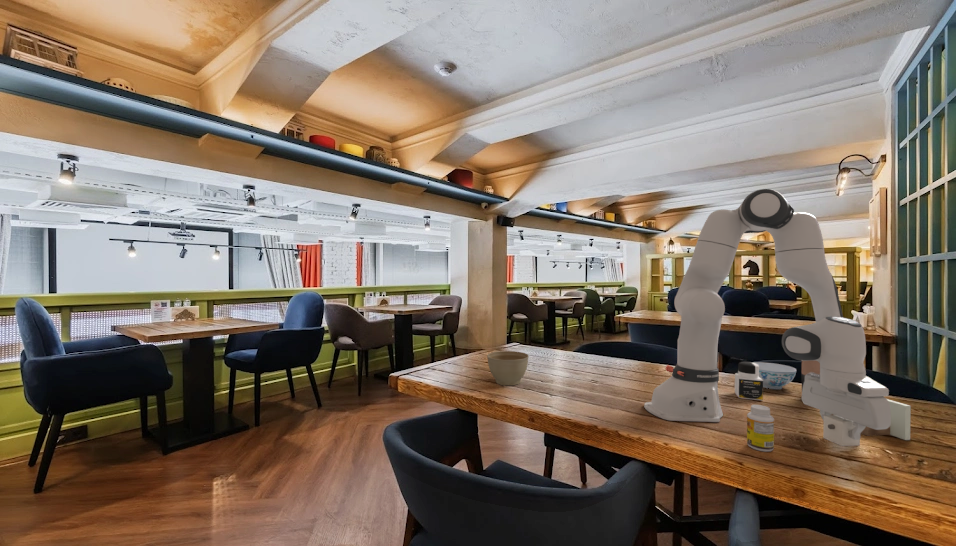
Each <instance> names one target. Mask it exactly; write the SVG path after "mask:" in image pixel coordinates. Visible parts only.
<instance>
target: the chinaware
mask: <svg viewBox="0 0 956 546" xmlns="http://www.w3.org/2000/svg"><path fill="white" fill-rule="evenodd" d="M753 363H756V364H758V365H759V377H760V378H761V379H762V380H763V389H765V388H766V389H768V388H769V389H771V390H782V389H783V387H785V386H787V385H789V384H790V383H791V382H793V380H794V378H795V377H796V373H797V368H795V367H793V366H790V365H785V364H781V363H780V364H779V363H773V362H759V361H758V362H755V361H754V362H753ZM769 389H768V390H769Z"/></svg>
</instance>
